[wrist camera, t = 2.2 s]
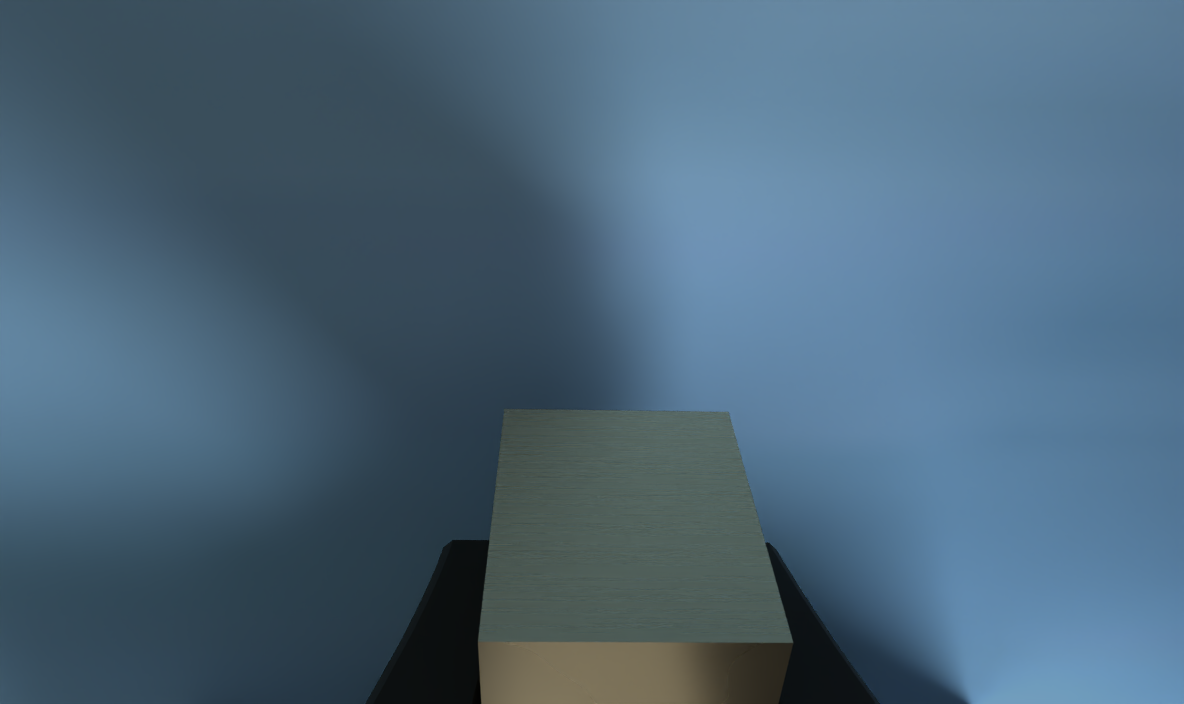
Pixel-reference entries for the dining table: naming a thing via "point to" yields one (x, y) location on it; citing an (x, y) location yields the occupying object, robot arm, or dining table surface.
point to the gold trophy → (627, 565)
